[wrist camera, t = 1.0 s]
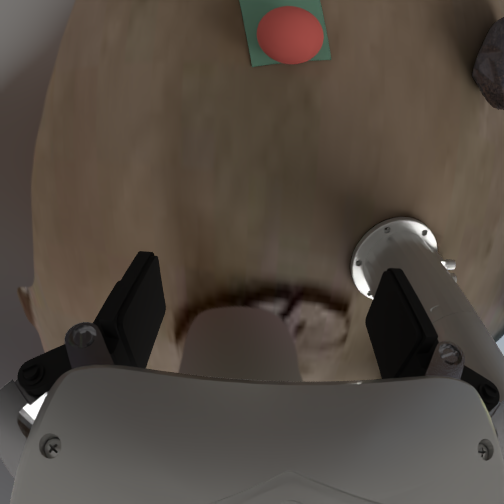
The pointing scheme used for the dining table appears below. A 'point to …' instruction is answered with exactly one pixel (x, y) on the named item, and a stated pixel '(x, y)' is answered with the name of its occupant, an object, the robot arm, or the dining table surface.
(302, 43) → the ball
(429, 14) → the dining table surface
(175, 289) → the dining table surface
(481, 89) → the perforated stone tool
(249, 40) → the strip
